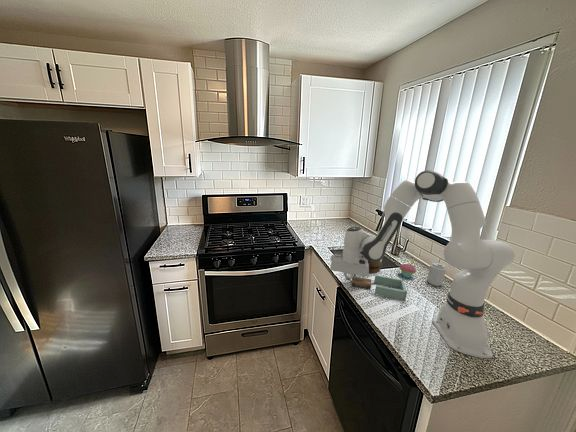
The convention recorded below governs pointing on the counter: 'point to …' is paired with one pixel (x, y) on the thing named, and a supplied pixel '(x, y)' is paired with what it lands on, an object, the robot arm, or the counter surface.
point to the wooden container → (374, 265)
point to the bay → (390, 291)
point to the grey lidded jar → (436, 273)
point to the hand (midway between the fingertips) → (347, 279)
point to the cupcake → (407, 269)
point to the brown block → (361, 282)
